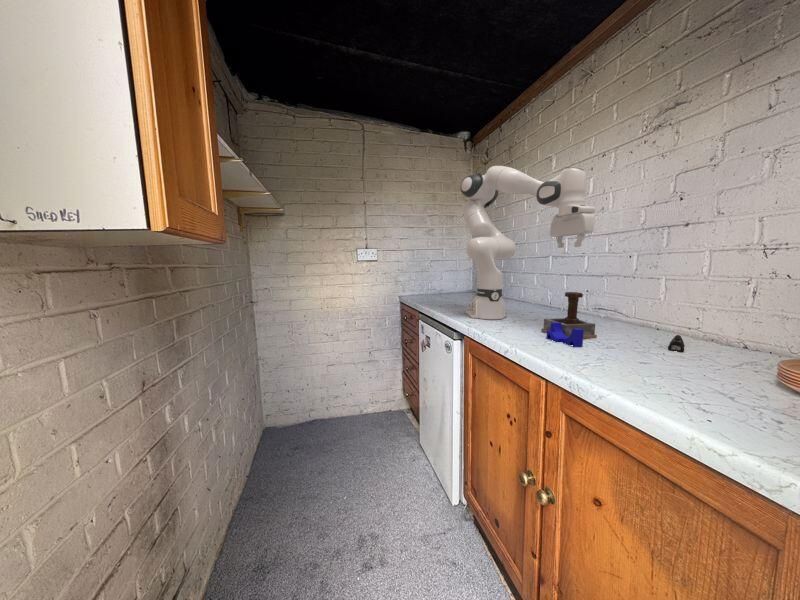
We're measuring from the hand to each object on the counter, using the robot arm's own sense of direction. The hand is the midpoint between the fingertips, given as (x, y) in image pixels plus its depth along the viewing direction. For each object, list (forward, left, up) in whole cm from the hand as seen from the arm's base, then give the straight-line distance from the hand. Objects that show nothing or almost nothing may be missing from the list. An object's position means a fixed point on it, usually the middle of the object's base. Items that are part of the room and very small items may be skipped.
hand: (568, 247), depth 121 cm
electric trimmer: (+29, +19, -34) cm, 48 cm away
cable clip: (+18, -14, -34) cm, 40 cm away
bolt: (+10, -5, -32) cm, 34 cm away
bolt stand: (+9, -5, -33) cm, 35 cm away
